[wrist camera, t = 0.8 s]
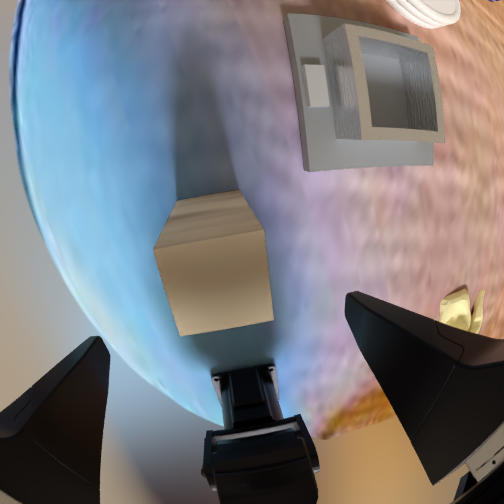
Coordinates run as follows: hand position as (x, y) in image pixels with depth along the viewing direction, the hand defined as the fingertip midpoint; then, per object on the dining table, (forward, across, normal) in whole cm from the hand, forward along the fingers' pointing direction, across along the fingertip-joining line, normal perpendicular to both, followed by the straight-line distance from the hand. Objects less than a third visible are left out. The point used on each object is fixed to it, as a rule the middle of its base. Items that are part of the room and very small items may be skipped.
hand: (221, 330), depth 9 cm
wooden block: (+12, 0, 0) cm, 12 cm away
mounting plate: (+12, -13, -9) cm, 20 cm away
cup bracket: (+10, -13, -9) cm, 19 cm away
